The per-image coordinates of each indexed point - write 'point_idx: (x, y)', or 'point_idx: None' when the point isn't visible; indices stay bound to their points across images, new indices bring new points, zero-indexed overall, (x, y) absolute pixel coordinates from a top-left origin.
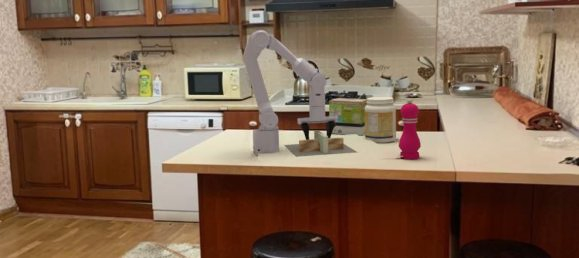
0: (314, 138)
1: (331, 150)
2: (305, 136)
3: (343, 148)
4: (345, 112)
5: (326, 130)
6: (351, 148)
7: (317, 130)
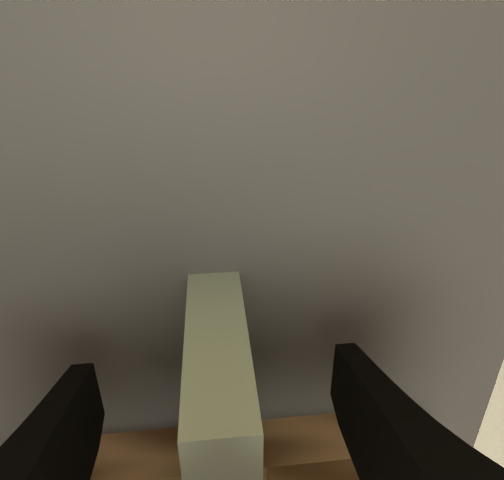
0: (184, 351)
1: None
2: (26, 435)
3: None
4: None
5: (403, 447)
6: (480, 423)
7: (246, 437)
